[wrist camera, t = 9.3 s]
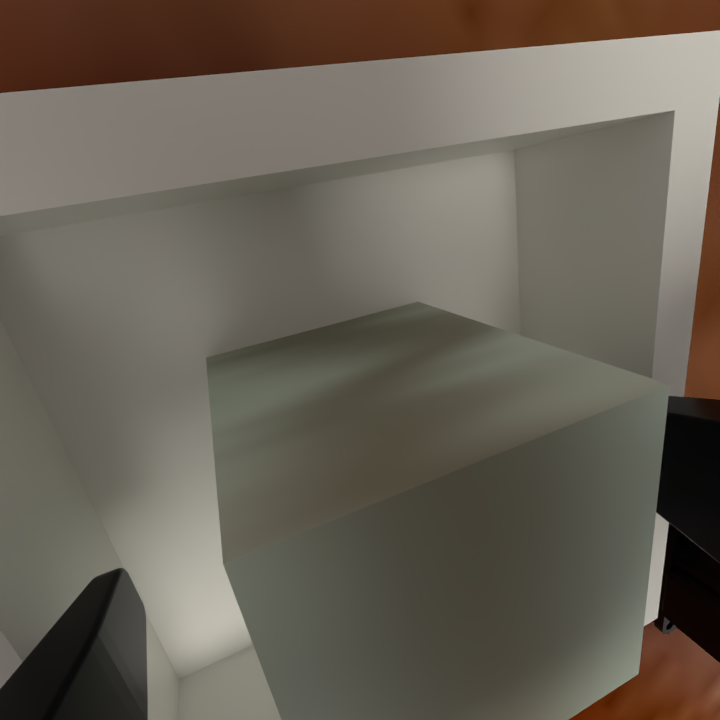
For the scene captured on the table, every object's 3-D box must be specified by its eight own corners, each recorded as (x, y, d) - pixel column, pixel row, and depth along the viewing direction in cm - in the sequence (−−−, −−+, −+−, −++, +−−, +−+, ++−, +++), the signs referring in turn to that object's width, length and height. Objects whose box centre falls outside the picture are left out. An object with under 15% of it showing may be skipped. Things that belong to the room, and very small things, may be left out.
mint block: (418, 301, 10) (669, 384, 5) (438, 472, 12) (638, 673, 7) (205, 357, 9) (224, 564, 3) (264, 541, 10) (337, 868, 5)
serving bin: (523, 105, 10) (727, 30, 6) (534, 514, 15) (657, 618, 11) (-117, 191, 7) (-545, 142, 3) (154, 692, 12) (132, 940, 8)
